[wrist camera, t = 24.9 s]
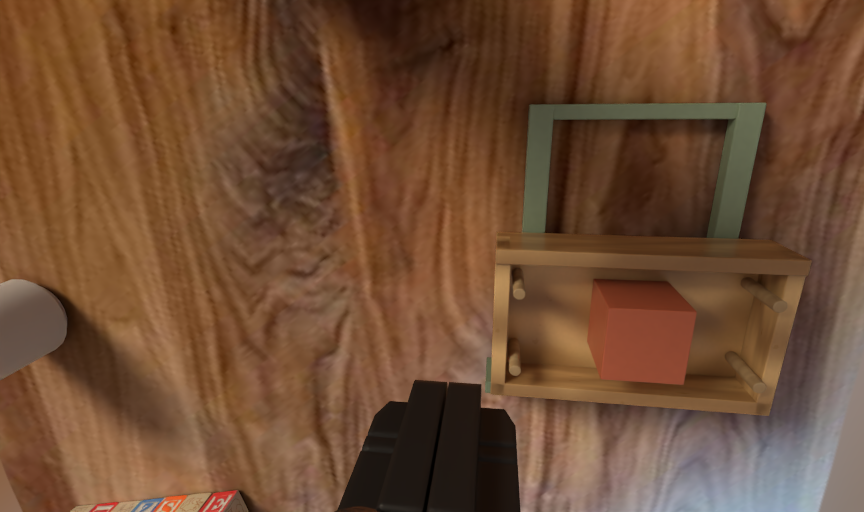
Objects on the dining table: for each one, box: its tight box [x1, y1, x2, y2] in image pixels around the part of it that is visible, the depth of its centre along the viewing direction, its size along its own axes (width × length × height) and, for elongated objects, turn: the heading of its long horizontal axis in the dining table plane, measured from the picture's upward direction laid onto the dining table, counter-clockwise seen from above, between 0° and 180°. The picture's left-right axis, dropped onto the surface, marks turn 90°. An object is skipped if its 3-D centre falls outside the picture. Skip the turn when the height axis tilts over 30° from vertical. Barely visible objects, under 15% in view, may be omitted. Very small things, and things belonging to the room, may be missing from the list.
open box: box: [490, 232, 812, 416], centre depth 32 cm, size 11×18×5 cm, turn 91°
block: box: [587, 279, 697, 385], centre depth 31 cm, size 5×5×5 cm
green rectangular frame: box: [485, 103, 766, 393], centre depth 33 cm, size 21×19×4 cm
